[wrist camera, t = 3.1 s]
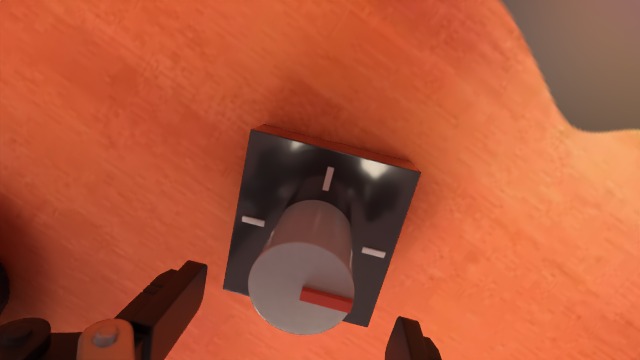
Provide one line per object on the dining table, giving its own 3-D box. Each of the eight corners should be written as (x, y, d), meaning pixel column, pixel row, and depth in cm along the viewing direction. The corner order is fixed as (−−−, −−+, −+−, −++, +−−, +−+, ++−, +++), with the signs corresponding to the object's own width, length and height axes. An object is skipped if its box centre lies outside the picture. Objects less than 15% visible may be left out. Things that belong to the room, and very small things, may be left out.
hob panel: (237, 265, 24) (221, 291, 21) (263, 123, 21) (249, 129, 18) (365, 299, 24) (367, 329, 21) (411, 161, 20) (422, 173, 17)
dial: (268, 260, 20) (237, 325, 14) (283, 190, 19) (255, 232, 13) (341, 279, 20) (338, 351, 14) (361, 210, 18) (367, 261, 13)
